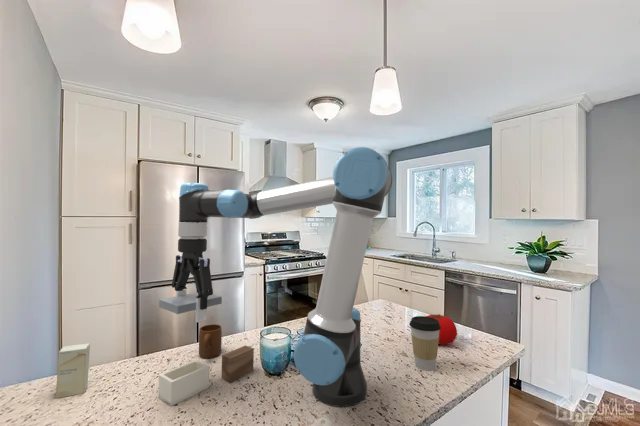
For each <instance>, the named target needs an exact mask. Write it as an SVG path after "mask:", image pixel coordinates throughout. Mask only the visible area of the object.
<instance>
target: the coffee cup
mask: <svg viewBox="0 0 640 426" xmlns="http://www.w3.org/2000/svg"><path fill="white" fill-rule="evenodd" d="M426 316H427V315H423V316H422V315H417V316H416V315H415V316H412V317H411V319H410V321H409V327H410V329H411V333H410V335H411V336H410V337H411V342H412V353H413V356H414V366H415V367H416V368H417V369H419V370H421V371H425V372H431V371H432V372H433V371H434V370H435V369H436V367H437V366H436V364H437V357H438V350H439V344H438V343H439V330H440V329H441V326H440V324H439V321H438V320H437V319H434V318H431V317H426Z"/></svg>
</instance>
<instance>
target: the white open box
mask: <svg viewBox="0 0 640 426" xmlns="http://www.w3.org/2000/svg"><path fill="white" fill-rule="evenodd" d="M210 370H211V368H210V365H208V364H207V363H205V362H202V361H200V360H198V359H195V360H193V361H190V362H188V363H186V364H182V365H180V366H178V367H175V368H173V369H170V370H168V371H165V372H162V373H160V374H158V390H157V391H158V393H157V394H158V395H157V396H158V399H159V400H161V401H162V402H164V403H166V404H167V405H168V406H170V407H173V406H175V405H177V404H179V403H181V402H183V401H185V400H187V399H188V398H191V397H193V396H195V395H197V394H199V393H201V392H203V391H205V390H207V389H209V388H210Z"/></svg>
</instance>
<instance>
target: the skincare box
mask: <svg viewBox="0 0 640 426" xmlns="http://www.w3.org/2000/svg"><path fill="white" fill-rule="evenodd" d="M90 348H91V343H90V342H89V343H88V342H87V343H79V344H73V345H64V346H62V347H61V349H60V350H59V351H58V359H57V371H56V389H55V399H59V398H63V397H65V398H66V397H70V396H76V395H77V396H78V395H82V394H85V391H86V390H87V388H88V384H89V383H88V382H89V367H90V351H91V349H90Z"/></svg>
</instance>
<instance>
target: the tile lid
mask: <svg viewBox="0 0 640 426" xmlns="http://www.w3.org/2000/svg"><path fill="white" fill-rule="evenodd" d="M197 296H198V292H192V293H191V292H190V293H188V294H187V293H186V295H181V296H176V295H175V296H170V297H166V298H161V299H159V300H158V307H159V308H161V309H164V310H166V311H169V312H171V313H173V314H175V313H176V314H175V315H181V314H184V312H185V313H187V312H192V311H196V297H197ZM222 297H223V296H221V295H217V294H214V293H213V295H210V296H208V298H207V308H209V307H213V306H214V307H215V306H217V305H222V300H223V298H222ZM180 313H181V314H180Z"/></svg>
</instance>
